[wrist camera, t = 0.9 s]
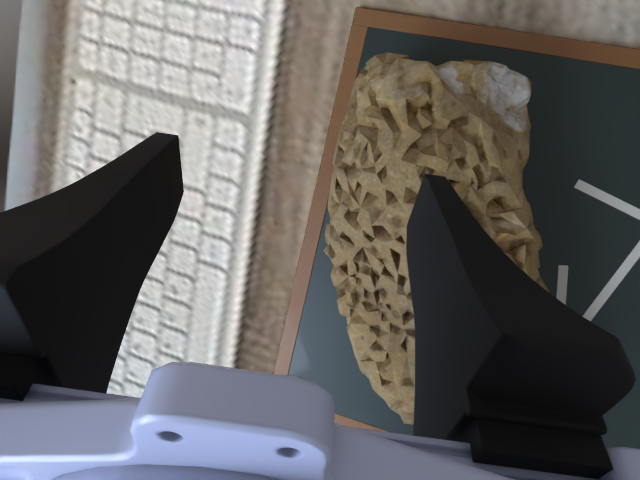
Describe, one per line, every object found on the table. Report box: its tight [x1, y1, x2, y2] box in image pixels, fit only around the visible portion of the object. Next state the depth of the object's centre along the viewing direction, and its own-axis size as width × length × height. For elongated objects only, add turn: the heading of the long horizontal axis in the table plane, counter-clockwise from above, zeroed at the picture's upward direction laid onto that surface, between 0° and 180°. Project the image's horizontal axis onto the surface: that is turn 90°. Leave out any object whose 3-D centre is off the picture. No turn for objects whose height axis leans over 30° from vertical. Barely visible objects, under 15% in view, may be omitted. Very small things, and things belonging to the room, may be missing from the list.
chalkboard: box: [273, 7, 640, 449], centre depth 27 cm, size 26×26×1 cm
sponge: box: [323, 53, 549, 424], centre depth 25 cm, size 13×8×20 cm
